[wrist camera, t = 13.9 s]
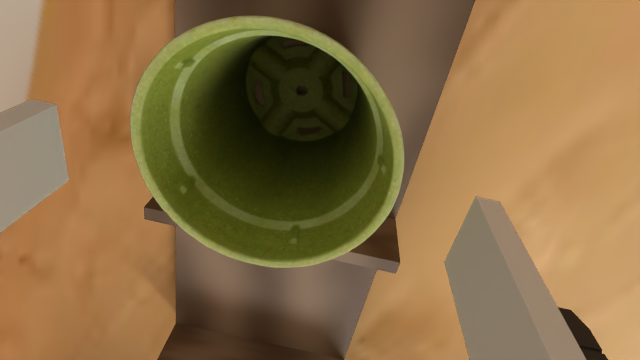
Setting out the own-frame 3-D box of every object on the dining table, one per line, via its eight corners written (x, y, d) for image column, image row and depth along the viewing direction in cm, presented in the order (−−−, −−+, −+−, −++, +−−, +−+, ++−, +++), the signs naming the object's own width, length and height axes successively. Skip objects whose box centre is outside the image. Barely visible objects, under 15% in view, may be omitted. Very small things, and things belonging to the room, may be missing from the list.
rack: (485, -47, 18) (524, -47, 13) (342, 352, 33) (339, 414, 29) (185, -115, 18) (124, -137, 13) (181, 317, 33) (153, 375, 29)
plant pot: (240, 173, 24) (183, 274, 16) (190, 7, 19) (79, 43, 12) (396, 157, 22) (411, 261, 15) (381, -27, 18) (393, -11, 10)
